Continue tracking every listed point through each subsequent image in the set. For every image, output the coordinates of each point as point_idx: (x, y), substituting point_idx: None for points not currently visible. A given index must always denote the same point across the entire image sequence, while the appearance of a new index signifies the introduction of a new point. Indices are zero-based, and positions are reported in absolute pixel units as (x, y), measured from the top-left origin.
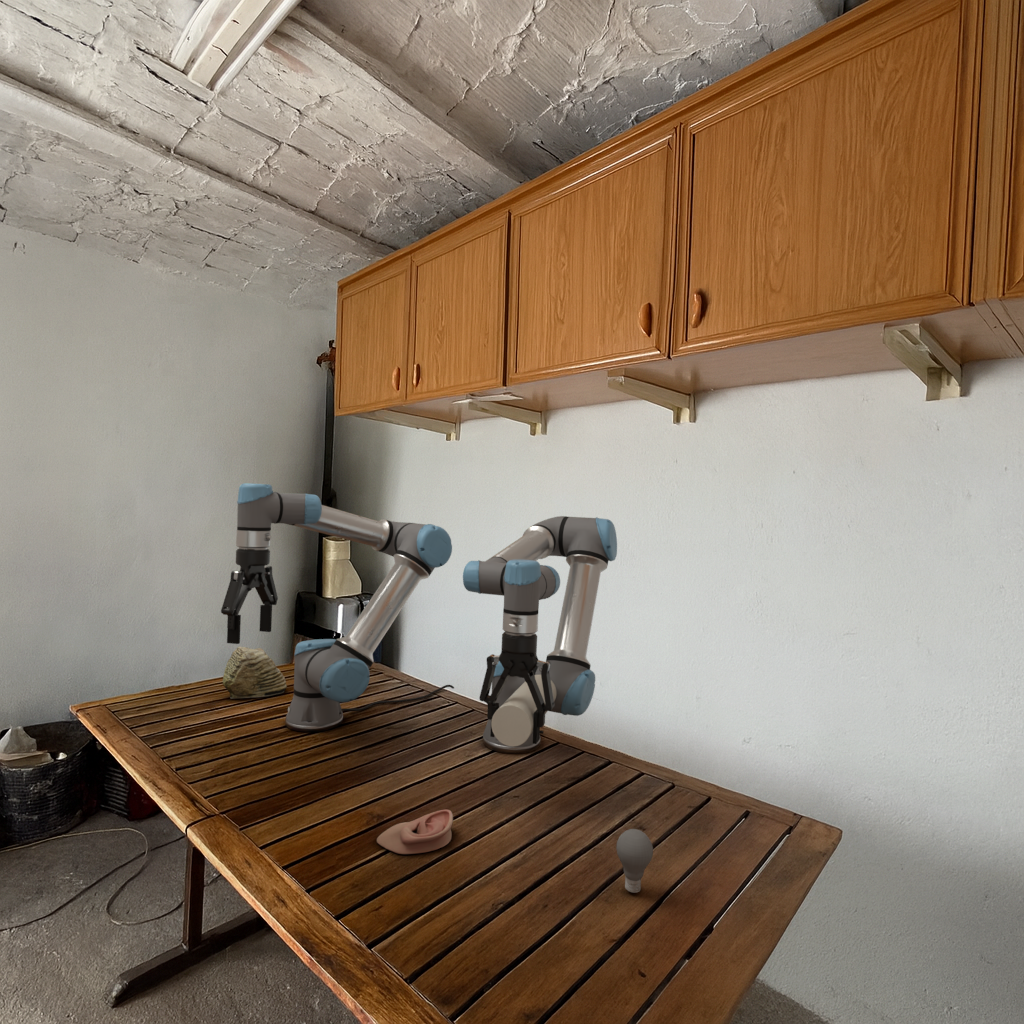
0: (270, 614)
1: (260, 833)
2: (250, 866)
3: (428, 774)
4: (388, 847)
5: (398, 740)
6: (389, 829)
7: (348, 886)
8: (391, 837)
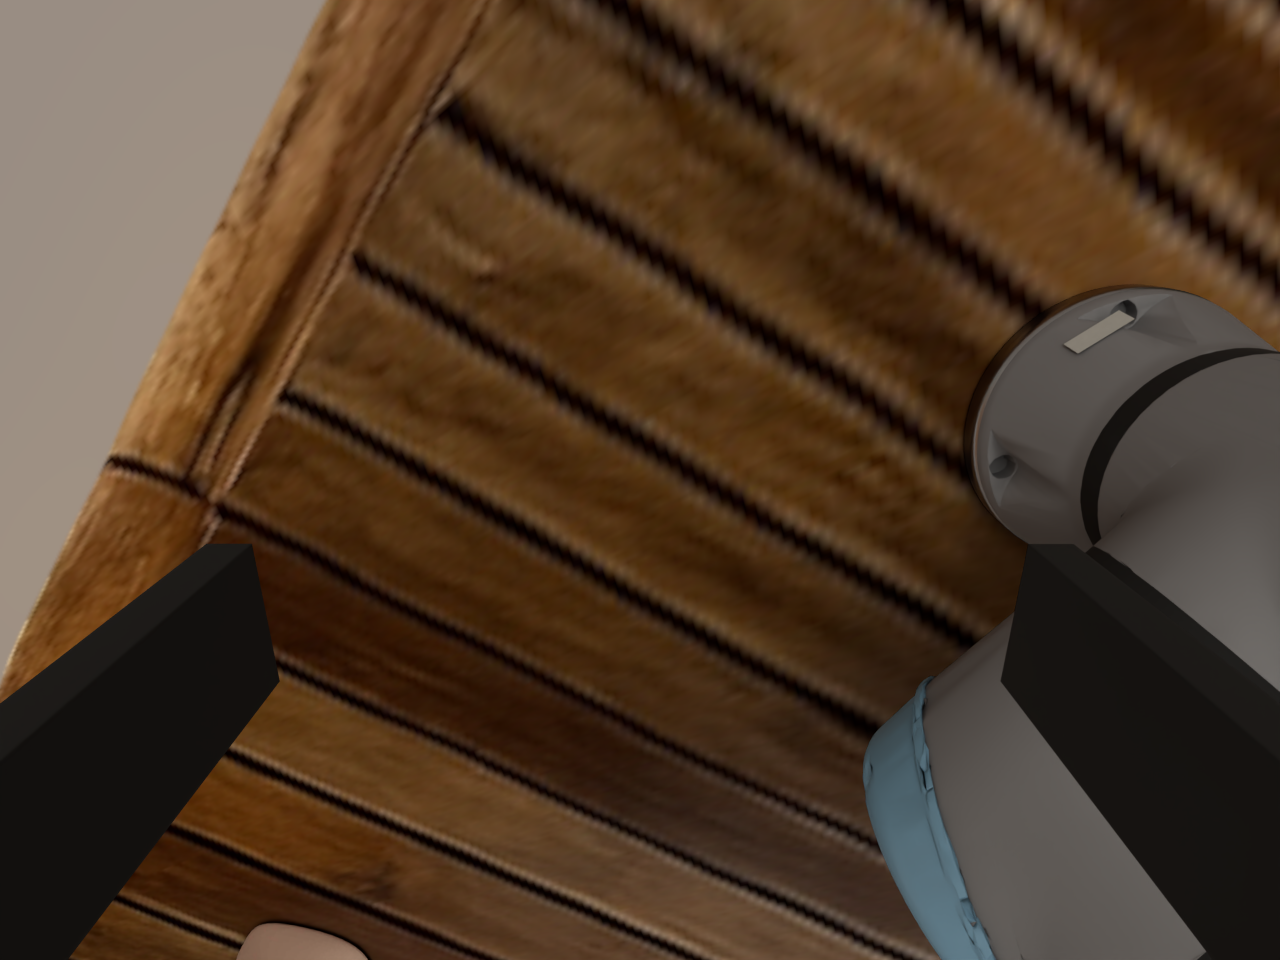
0: (1173, 897)
1: None
2: None
3: (667, 930)
4: (237, 957)
5: None
6: (294, 950)
7: None
8: None
